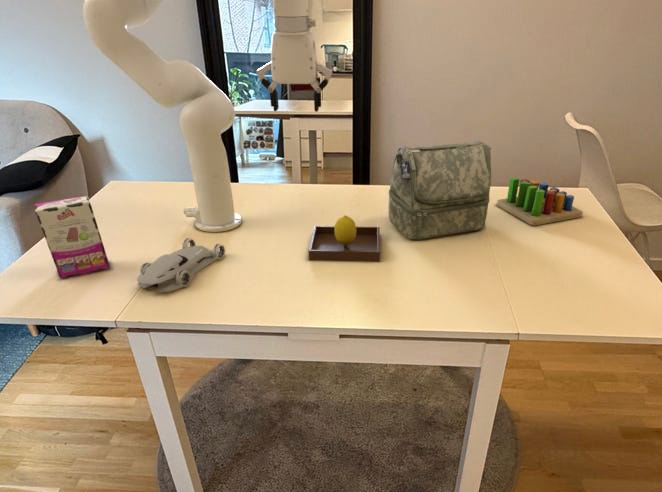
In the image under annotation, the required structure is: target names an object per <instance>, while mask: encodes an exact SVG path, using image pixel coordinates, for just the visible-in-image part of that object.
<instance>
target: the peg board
mask: <svg viewBox="0 0 662 492" xmlns="http://www.w3.org/2000/svg"><path fill="white" fill-rule="evenodd" d="M560 190H561V189H560V188H557V187H555V186H552V187H550V188H549V184H548V183H547V182H539V181H536V180H532V181H530V180H529V179H527V178H523V179H520V178H518V177H516V176H514V177H510V178H509V183H508V189H507V197H506V198H499V199H497V200H496V206H498V207H499V208H501V209H503V210H504V211H505V212H508V213H509V214H512V215H513V216H514V217H516V218H518V219H520V220H522V221H523V222H525V223H527V224H528V225H530V226H540V225H546V224H550V223H556V222H561V221H566V220H572V219H579V218H582V216H583V214H584V212H583V210H581V209H579V208H577V207H575V206H573V204H574V200H575V196H574V195H573V194H568V192H567V191H565V190H562V191H560Z"/></svg>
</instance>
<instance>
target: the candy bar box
mask: <svg viewBox="0 0 662 492" xmlns="http://www.w3.org/2000/svg"><path fill="white" fill-rule="evenodd" d="M34 210H35V214H36V217H37V221H38V223H39V225H40V229H41V230H42V233H43V236H44V239H45V241H46V244H47V246H48V250H49V252H50V254H51V258H52V260H53V263H54V265H55V268H56V271H57V274H58V277H59V279H60V280H61V279H62V280H63V279H69V278H72V277H79V276H83V275H87V274H92V273H97V272H102V271H106V270H107V271H108V270H111V265H110V262H109V259H108V256H107V251H106V248H105V245H104V241H103V239H102V236H101V232H100V229H99V226H98V223H97V220H96V217H95V213H94V210H93V207H92V204H91V200H90V199H89V196H88V195H82V196H77V197H76V196H75V197H71V198H64V199H59V200H53V201H47V202H41V203H35V204H34Z"/></svg>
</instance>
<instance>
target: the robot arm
mask: <svg viewBox="0 0 662 492" xmlns="http://www.w3.org/2000/svg"><path fill="white" fill-rule="evenodd" d="M163 2H164V0H84V2H83V4H82V5H83V6H82V16H83V22H84V25H85V29H86V31H87V33H88V35H89V38H90V39H91V40H92V42H93V44H94V45H95V46H96V47H97V49H98V50H99V51H100V52H101V53H102V54H103V55H104V56H106V58H108V59H109V60H110V61H111V62H112V63H114V65H116V66H117V67H118V68H119V69H121V71H123V72H124V73H125V74H126V75H127V76H128V77H129V78H130V79H131V80H132V81H133V82H134V83H135V84H136V85H138V87H139V88H141V89H142V90H143V91H144V92H145V93H146V94H147V95H148V96H150V97H151V98H152V100H154V101H155V102H156V103H157V104H158V105H160V106H161V107H164V108H167V109H172V108H176V107H179V106H181V105H183V104H184V105H185V106H183V108H182V110H181V112H180V115H179V127H180V131H181V134H182V137H183V139H184V143H185V146H186V149H187V150H186V151H187V154H188V158H189V165H190V169H191V176H192V180H193V187H194V194H195V198H196V204H197V206H195V207H184V208H183V214H184V215H185V217H186V218H195V219H194V226H195V228H197V229H198V230H200V231H202V232H203V231H204V232H209V233H219V232H220V233H221V232H226V231H230V230H233V229H235V228H237V227H238V226H240V225H241V224H242V217H241V215H240V214H238V213H236V212H235V205H234V198H233V190H232V184H231V183H232V181H231V175H230V167H229V160H228V153H227V151H226V150H227V149H226V147H225V145H224V142H223V139H222V134H223V133H224V132H226V131H227V130H229V129H230V128H231V127H232V125H233V124H234V122H235V119H236V111H235V107H234V104H233V103H232V101H231V100H230V99H229V97H228V96H227V95H226V93H224V92H223V91H222V90H221V89H220V88H219V87H218V86H217V85H216V84H215V83H214V82H213V81H212V80H210V78H209V77H208V76H206V74H205V73H203V71H201V70H200V69H199V68H198V67H197V66H196V65H195V64H193V63H191V62H189V61H187V60H184V59H173V60H170V61H167V60H166V59H164V58H163V57H162V56H160V54H158V53H157V52H156V51H155V50H154V49H153V48H152V47H151V46H150V45H149V44H148V43H147V42H145V41H144V40H142V39H141V38H140V37H137V36H136V35H135V34H133V33H132V32H130V30H132V29H137V28H140V27H143V26H144V25H145V24H146V23H148V21H150V19H151V18H152V17H153V15H155V13H156V12H157V10H158V9H159V7H160V6H161V5H162V3H163ZM272 8H273V9H272V10H273V23H274V31H273V32H272V33H271V41H270V42H271V43H270V62H268V63H266V64H265V65H263V66H262V67H260V68H258V69H257V70H256V72H255V73H256V76H257V77H258V79H259V81H260V82H261V84H262V86H263V87H264V88H265V89H266V90H267V91H268V92H269V99H270V106H271V107H273V112H277V111H278V110H279V92H278V90H277V87H278V85H282V84H283V85H310V86H311V87H312V88H313V89H314V93H313V103H314V104H313V107H314V108H313V109H314V112H316V113H317V112H319V109H320V108H321V107H322V91H323V90H324V89H325V88H326V87H327V86H328V84H329V83H330V79H331V77H332V75H333V70H332V69H331V68H328V67H327V66H325V65H323V64H322V63H320V62H318V61H317V51H316V50H317V49H316V43H315V37H314V32H311V31H310V30H311V28H313V27H314V28H315V27H316V26H317V25H316V19H313V18H311V17H310V15H309V0H272ZM270 70H271V71H270ZM269 71H270V72H271V80H272V82H270V80H269V79H267V77H266V75H265V74H266V73H267V72H269ZM318 72H320V73H322V74H323V75H324V78H323V79H322V81H321V82H319V81H318V80H317V78H318Z"/></svg>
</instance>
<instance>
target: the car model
mask: <svg viewBox="0 0 662 492" xmlns="http://www.w3.org/2000/svg"><path fill="white" fill-rule="evenodd" d="M181 244H182V245H181V247H182V248H180V249H178V250H176V251H173V252H171V253H167V254H166V253H165V254H162V255H161V256H159V257H157V258H156V259H155V260H154V261H153V262H144V263H142V265H140V270H139V273H140V274H139V275H138V276H137V279H136V280H137V286H138V287H139V288H142V289H144V290H147V289H151V288H156V292H158V293H171V292H174V291H177V290H180V289H183V288H186V287H188V286H189V285H190V283H191V281H192V280H193V278H194V277H195V276H196V275H197V274H199V273H200V271H202V270H203V269H205V268H206V267H208V266H209V265H211V264H212V263H214V262H216V261H219V260H222V259H223V258H224V256H225V254H226V248H225V246H224V244H221V243H215V244H214V245H213V247H212V250H209V249H208V248H207V247H205V246H203V245H196V242H195V239H193V238H192V237H188V238H187V237H186V238H185V239H183V241H182V243H181ZM188 245H189V246H188Z"/></svg>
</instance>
